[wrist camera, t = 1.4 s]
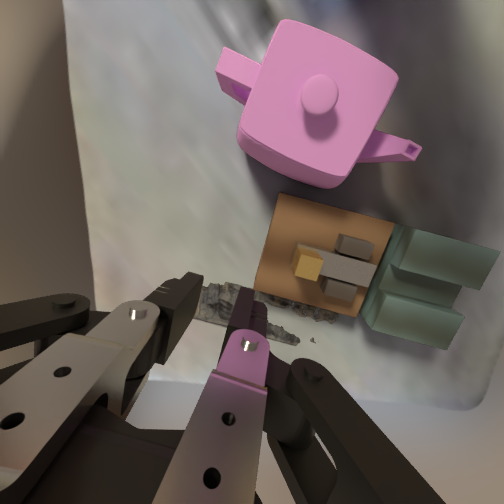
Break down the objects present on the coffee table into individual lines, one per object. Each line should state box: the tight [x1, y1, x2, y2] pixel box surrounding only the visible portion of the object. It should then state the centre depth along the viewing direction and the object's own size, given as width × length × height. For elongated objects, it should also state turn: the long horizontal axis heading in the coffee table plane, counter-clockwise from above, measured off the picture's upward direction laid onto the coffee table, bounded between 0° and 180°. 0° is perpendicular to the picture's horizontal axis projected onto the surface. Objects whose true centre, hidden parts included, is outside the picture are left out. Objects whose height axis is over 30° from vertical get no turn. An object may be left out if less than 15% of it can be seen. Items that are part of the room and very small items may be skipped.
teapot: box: [215, 19, 423, 189], centre depth 22 cm, size 18×10×10 cm, turn 65°
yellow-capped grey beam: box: [290, 241, 377, 287], centre depth 23 cm, size 2×8×5 cm, turn 75°
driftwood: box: [193, 282, 338, 346], centre depth 32 cm, size 21×7×2 cm, turn 74°
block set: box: [253, 192, 500, 350], centre depth 27 cm, size 11×21×6 cm, turn 75°
